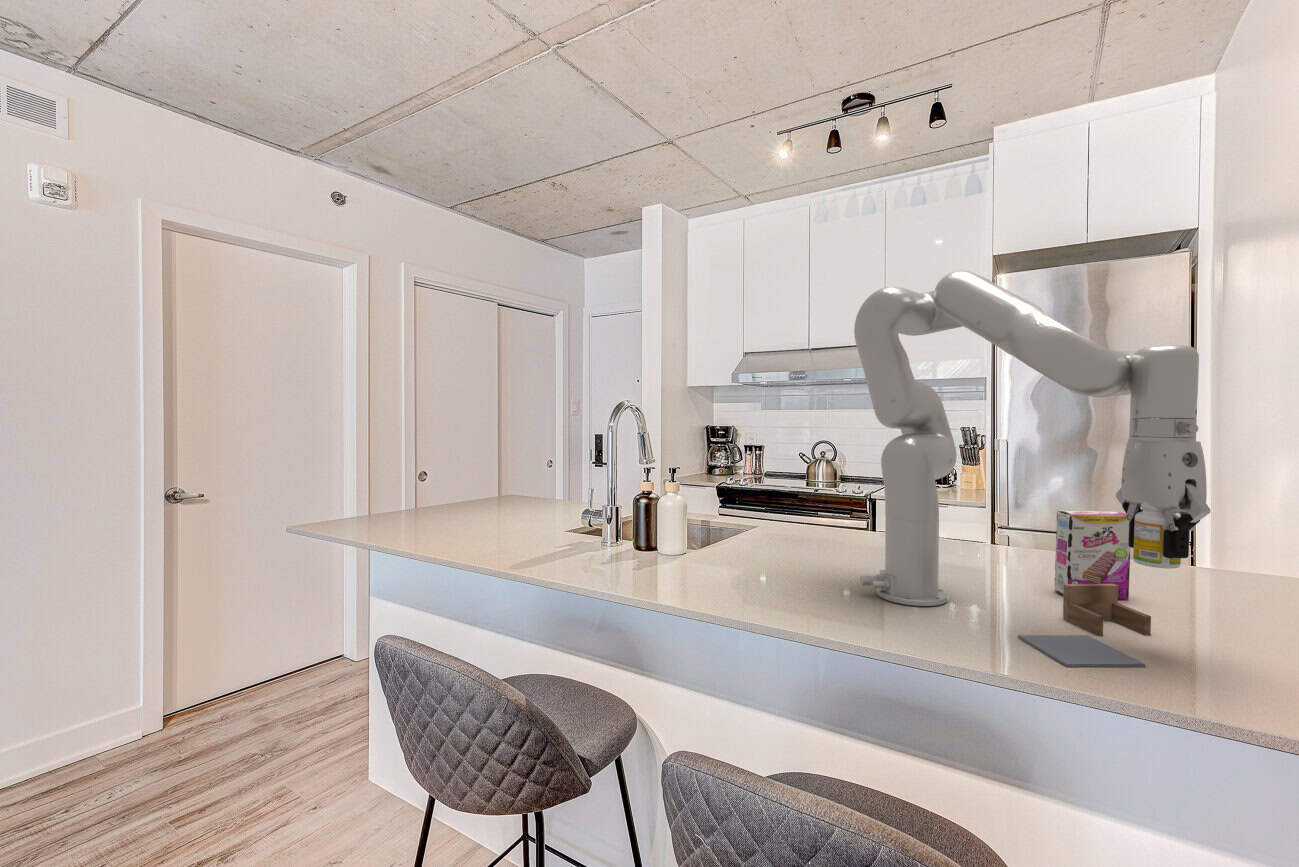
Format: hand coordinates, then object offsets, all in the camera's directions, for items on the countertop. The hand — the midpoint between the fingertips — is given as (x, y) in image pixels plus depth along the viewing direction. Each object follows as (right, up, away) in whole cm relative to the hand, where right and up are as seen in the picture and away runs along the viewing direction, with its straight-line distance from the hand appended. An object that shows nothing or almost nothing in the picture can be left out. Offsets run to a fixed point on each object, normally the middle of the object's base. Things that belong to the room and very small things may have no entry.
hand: (1157, 551), depth 89 cm
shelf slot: (0, -15, +10) cm, 18 cm away
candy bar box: (+10, -14, +27) cm, 32 cm away
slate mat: (-12, -15, 0) cm, 19 cm away
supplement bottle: (0, -2, 0) cm, 2 cm away
